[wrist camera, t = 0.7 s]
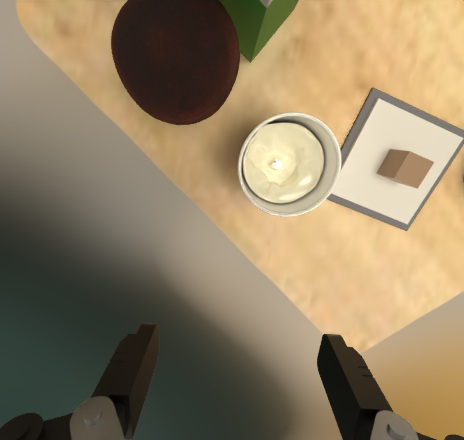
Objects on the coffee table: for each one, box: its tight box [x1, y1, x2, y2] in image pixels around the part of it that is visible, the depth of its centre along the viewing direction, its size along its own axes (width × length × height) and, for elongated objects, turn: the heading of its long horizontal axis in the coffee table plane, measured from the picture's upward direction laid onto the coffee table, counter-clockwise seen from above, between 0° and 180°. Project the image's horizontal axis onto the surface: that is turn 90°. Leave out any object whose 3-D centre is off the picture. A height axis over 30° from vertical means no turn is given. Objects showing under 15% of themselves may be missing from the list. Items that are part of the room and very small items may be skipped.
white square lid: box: [331, 98, 463, 224], centre depth 34 cm, size 13×13×5 cm
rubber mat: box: [327, 88, 464, 231], centre depth 36 cm, size 15×15×1 cm
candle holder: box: [238, 112, 341, 217], centre depth 30 cm, size 10×10×12 cm
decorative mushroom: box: [111, 0, 240, 125], centre depth 26 cm, size 11×11×15 cm
